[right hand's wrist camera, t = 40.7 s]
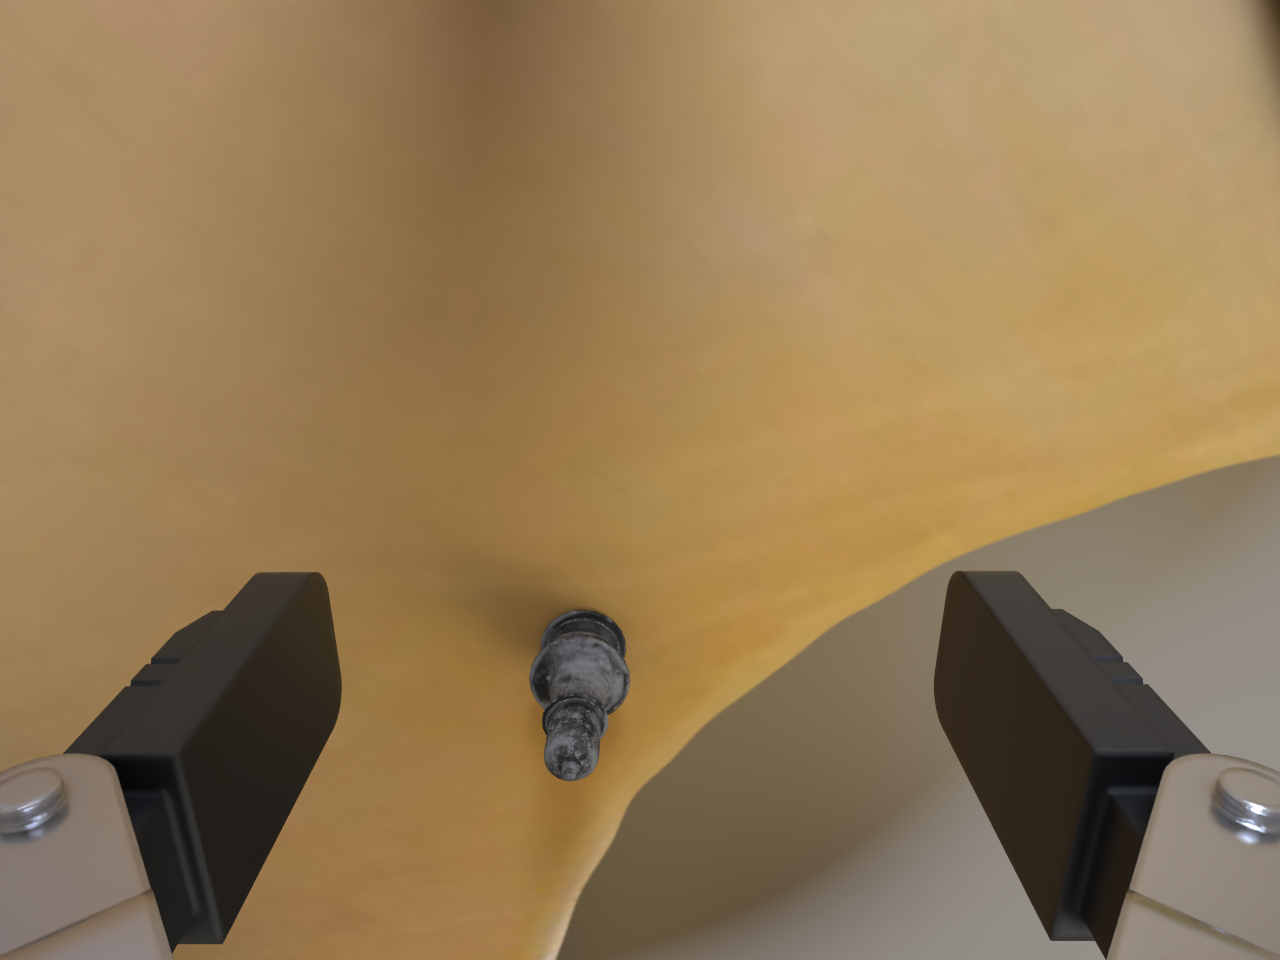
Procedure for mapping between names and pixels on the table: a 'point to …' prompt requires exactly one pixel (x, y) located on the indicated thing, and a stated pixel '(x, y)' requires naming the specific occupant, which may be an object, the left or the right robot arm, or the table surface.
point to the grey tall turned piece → (578, 688)
